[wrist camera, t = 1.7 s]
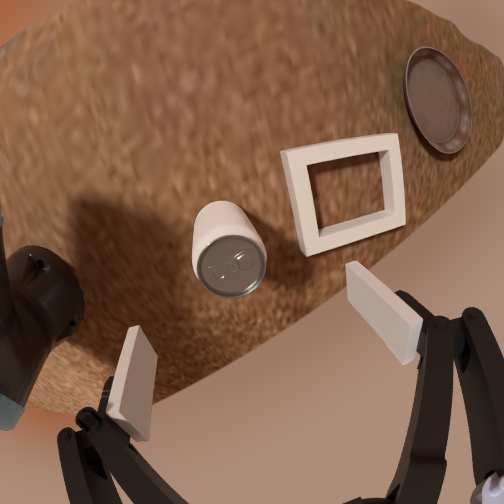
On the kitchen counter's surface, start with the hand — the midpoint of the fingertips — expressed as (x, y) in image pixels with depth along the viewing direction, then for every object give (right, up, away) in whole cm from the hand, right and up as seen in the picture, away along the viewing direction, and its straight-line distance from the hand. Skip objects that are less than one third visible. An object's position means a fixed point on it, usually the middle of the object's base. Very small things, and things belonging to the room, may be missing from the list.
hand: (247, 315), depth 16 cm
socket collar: (+13, +12, +18) cm, 25 cm away
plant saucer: (+29, +28, +15) cm, 43 cm away
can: (-3, +7, +17) cm, 19 cm away
